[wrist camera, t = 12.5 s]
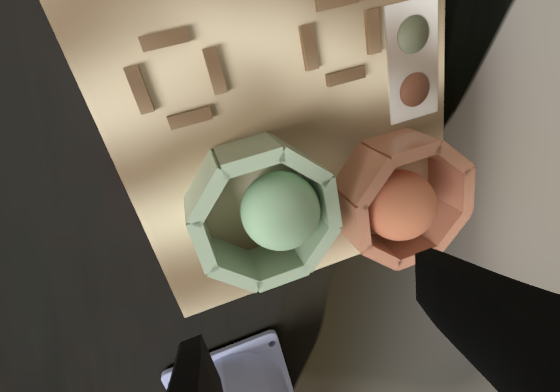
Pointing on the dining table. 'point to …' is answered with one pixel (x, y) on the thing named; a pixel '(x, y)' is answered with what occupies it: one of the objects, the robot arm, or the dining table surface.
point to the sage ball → (280, 210)
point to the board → (245, 99)
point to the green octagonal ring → (260, 261)
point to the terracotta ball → (403, 206)
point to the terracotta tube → (374, 173)
